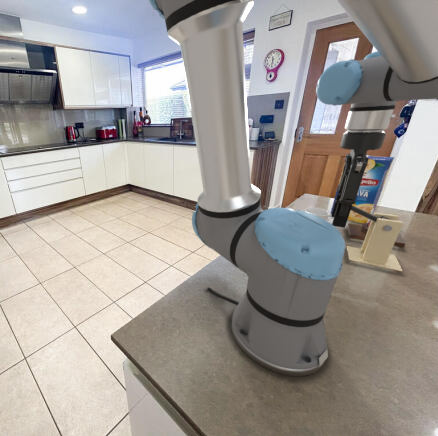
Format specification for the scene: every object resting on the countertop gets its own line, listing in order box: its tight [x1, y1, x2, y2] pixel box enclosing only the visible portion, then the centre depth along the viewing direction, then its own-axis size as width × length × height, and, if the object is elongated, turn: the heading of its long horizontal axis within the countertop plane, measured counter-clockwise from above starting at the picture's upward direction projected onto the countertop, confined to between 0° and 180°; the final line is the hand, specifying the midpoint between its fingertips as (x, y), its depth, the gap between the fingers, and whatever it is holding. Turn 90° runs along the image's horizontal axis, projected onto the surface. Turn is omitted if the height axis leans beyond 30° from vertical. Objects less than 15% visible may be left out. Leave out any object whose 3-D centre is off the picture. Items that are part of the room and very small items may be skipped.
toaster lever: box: [339, 198, 391, 222], centre depth 60 cm, size 12×6×2 cm, turn 57°
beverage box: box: [330, 154, 395, 224], centre depth 83 cm, size 7×11×22 cm, turn 37°
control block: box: [346, 222, 406, 248], centre depth 72 cm, size 12×9×4 cm
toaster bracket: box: [346, 211, 404, 272], centre depth 60 cm, size 10×8×13 cm
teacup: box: [303, 207, 334, 223], centre depth 83 cm, size 10×10×5 cm
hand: (337, 221), depth 63 cm, fingers closed on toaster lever, 6 cm apart
